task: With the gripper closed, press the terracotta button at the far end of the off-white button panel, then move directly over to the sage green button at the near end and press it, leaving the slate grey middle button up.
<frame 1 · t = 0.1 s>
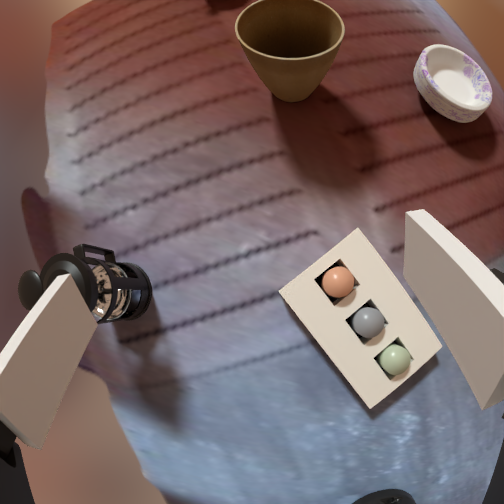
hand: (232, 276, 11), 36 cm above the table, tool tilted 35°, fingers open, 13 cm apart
button panel: (360, 319, 45), on the table
plant pot: (290, 85, 50), on the table
grey button: (366, 321, 41), point 3 cm above the table, slide at 0.0 cm
terracotta button: (336, 282, 42), point 3 cm above the table, slide at 0.0 cm
paper bowls: (442, 96, 47), on the table
french press: (126, 288, 49), on the table
sage button: (393, 358, 40), point 3 cm above the table, slide at 0.0 cm
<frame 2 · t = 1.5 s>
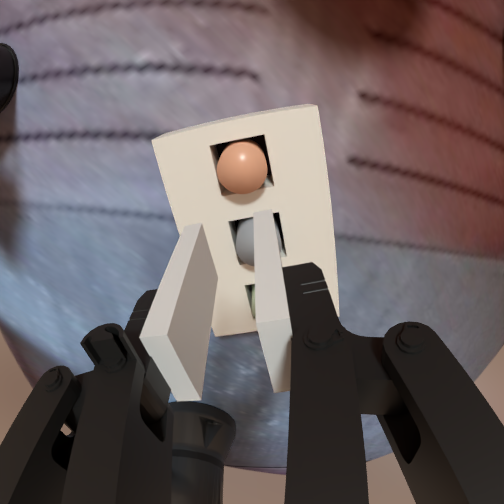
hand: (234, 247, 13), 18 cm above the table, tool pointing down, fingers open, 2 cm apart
button panel: (257, 222, 33), on the table
grey button: (258, 237, 30), point 3 cm above the table, slide at 0.0 cm
terracotta button: (242, 164, 26), point 3 cm above the table, slide at 0.0 cm
sage button: (270, 296, 33), point 3 cm above the table, slide at 0.0 cm
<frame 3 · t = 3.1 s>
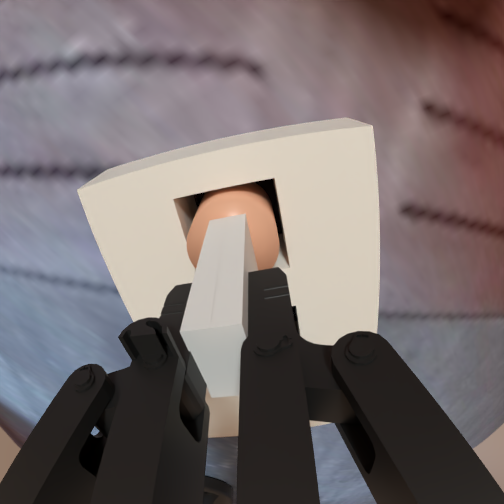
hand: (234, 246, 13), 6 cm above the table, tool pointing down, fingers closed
button panel: (259, 301, 22), on the table
terracotta button: (234, 228, 15), point 3 cm above the table, slide at 0.2 cm, touching gripper
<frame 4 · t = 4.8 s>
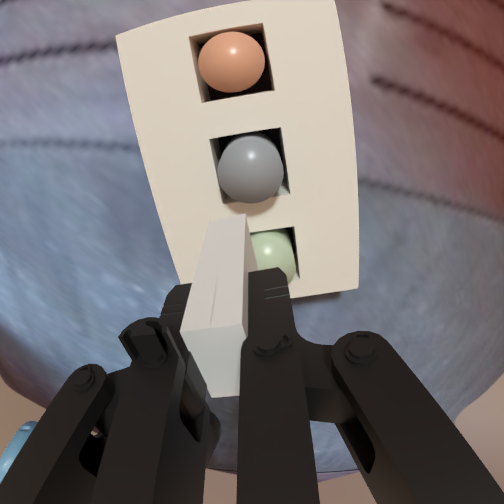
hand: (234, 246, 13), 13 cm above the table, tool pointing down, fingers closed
button panel: (251, 153, 24), on the table
grey button: (250, 164, 21), point 4 cm above the table, slide at 0.0 cm
terracotta button: (233, 63, 18), point 2 cm above the table, slide at 1.2 cm
sage button: (266, 255, 24), point 4 cm above the table, slide at 0.0 cm
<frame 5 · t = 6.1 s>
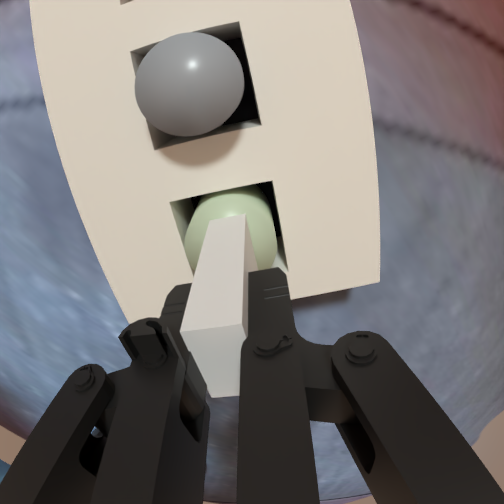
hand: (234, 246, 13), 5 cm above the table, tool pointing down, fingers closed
button panel: (206, 86, 15), on the table
grey button: (195, 84, 12), point 3 cm above the table, slide at 0.0 cm
sage button: (232, 228, 16), point 3 cm above the table, slide at 0.6 cm, touching gripper
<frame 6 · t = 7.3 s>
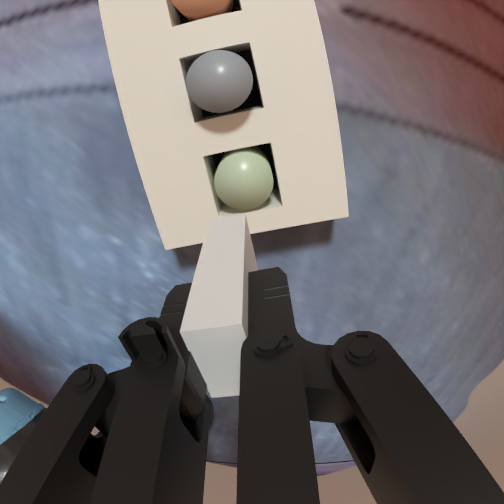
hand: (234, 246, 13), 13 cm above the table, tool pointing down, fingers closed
button panel: (226, 83, 22), on the table
grey button: (222, 81, 19), point 3 cm above the table, slide at 0.0 cm
sage button: (244, 174, 23), point 2 cm above the table, slide at 1.2 cm
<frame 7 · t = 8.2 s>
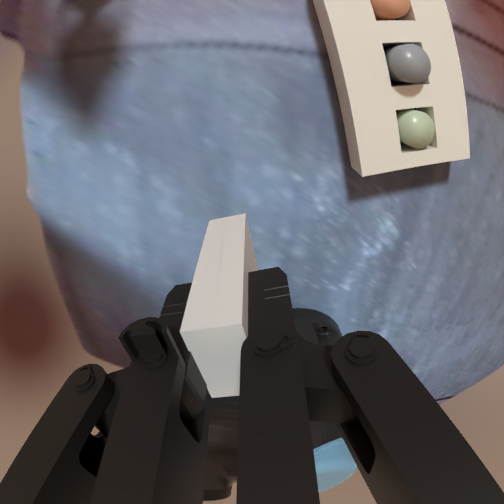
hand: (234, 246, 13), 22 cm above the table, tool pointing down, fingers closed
button panel: (391, 64, 28), on the table
grey button: (404, 63, 25), point 3 cm above the table, slide at 0.0 cm
terracotta button: (384, 3, 22), point 2 cm above the table, slide at 1.2 cm
sage button: (410, 127, 29), point 2 cm above the table, slide at 1.2 cm
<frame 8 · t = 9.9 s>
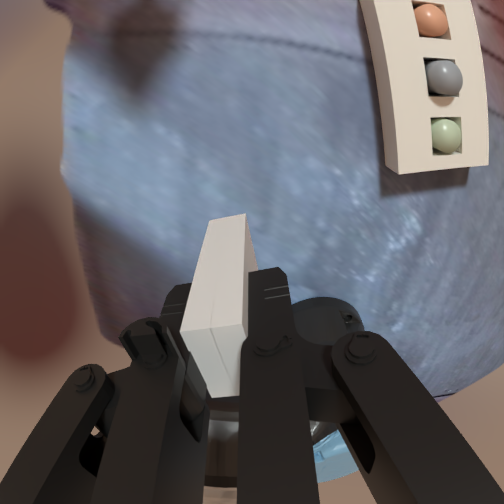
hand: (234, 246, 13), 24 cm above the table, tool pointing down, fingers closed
button panel: (425, 76, 30), on the table
grey button: (440, 77, 27), point 3 cm above the table, slide at 0.0 cm
terracotta button: (425, 21, 25), point 2 cm above the table, slide at 1.2 cm
sage button: (439, 133, 31), point 2 cm above the table, slide at 1.2 cm
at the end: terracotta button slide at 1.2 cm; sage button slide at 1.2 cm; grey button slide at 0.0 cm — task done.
